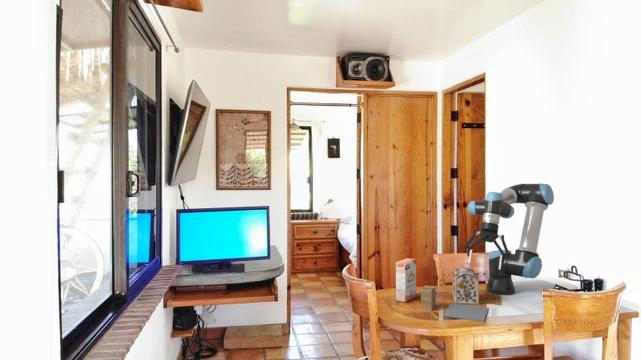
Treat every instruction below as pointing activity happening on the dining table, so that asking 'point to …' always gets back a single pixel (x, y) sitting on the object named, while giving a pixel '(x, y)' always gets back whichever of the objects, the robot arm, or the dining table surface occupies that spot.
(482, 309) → the rubber mat
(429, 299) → the walnut block
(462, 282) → the decorative jar
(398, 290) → the cracker box
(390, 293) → the dining table surface
